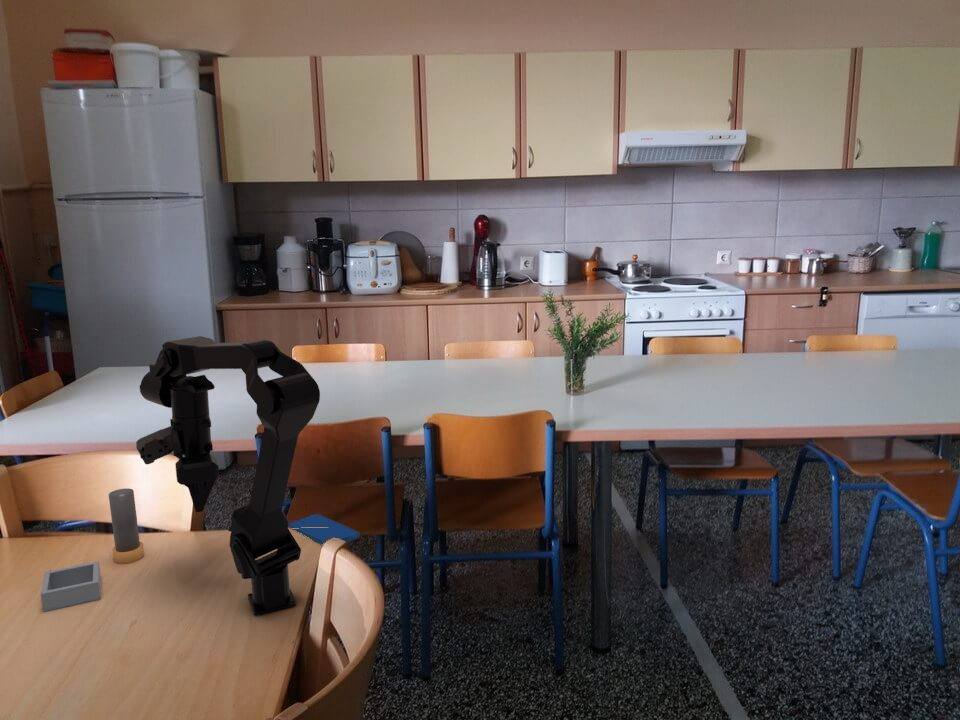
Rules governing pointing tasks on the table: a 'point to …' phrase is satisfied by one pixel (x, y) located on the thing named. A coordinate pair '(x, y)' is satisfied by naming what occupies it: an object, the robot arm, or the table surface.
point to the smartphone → (323, 529)
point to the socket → (71, 586)
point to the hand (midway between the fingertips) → (197, 500)
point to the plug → (125, 527)
